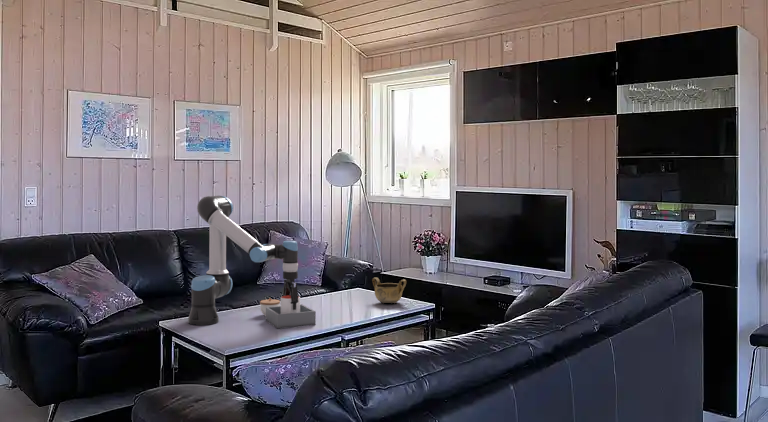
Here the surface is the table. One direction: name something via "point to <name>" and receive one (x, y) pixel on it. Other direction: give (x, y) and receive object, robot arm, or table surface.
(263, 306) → the lidded jar
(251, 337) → the table surface
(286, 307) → the cup
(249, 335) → the table surface
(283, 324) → the bin
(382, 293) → the ceramic bowl
